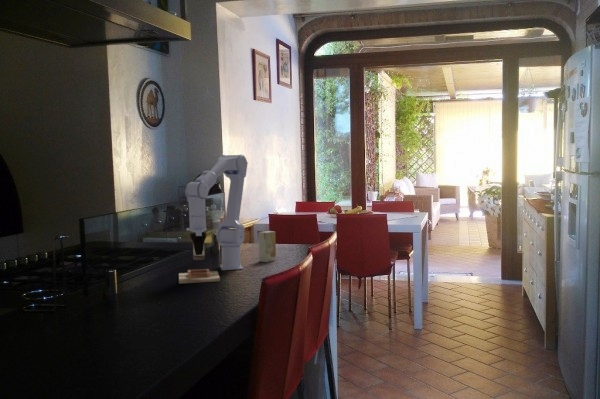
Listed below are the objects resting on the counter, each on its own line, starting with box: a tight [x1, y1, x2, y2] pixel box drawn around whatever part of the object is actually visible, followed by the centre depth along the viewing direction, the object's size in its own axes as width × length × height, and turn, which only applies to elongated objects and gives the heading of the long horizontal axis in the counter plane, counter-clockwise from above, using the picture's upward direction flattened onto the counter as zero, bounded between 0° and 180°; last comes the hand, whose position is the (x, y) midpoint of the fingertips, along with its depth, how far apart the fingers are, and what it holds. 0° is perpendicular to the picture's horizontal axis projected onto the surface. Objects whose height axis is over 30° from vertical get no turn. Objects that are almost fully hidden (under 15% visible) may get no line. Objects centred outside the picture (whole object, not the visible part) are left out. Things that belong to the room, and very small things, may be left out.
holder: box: [178, 268, 221, 284], centre depth 208 cm, size 14×14×2 cm
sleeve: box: [192, 243, 206, 261], centre depth 208 cm, size 4×4×7 cm
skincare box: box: [258, 230, 277, 263], centre depth 241 cm, size 6×4×12 cm
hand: (198, 253), depth 208 cm, fingers closed on sleeve, 4 cm apart
